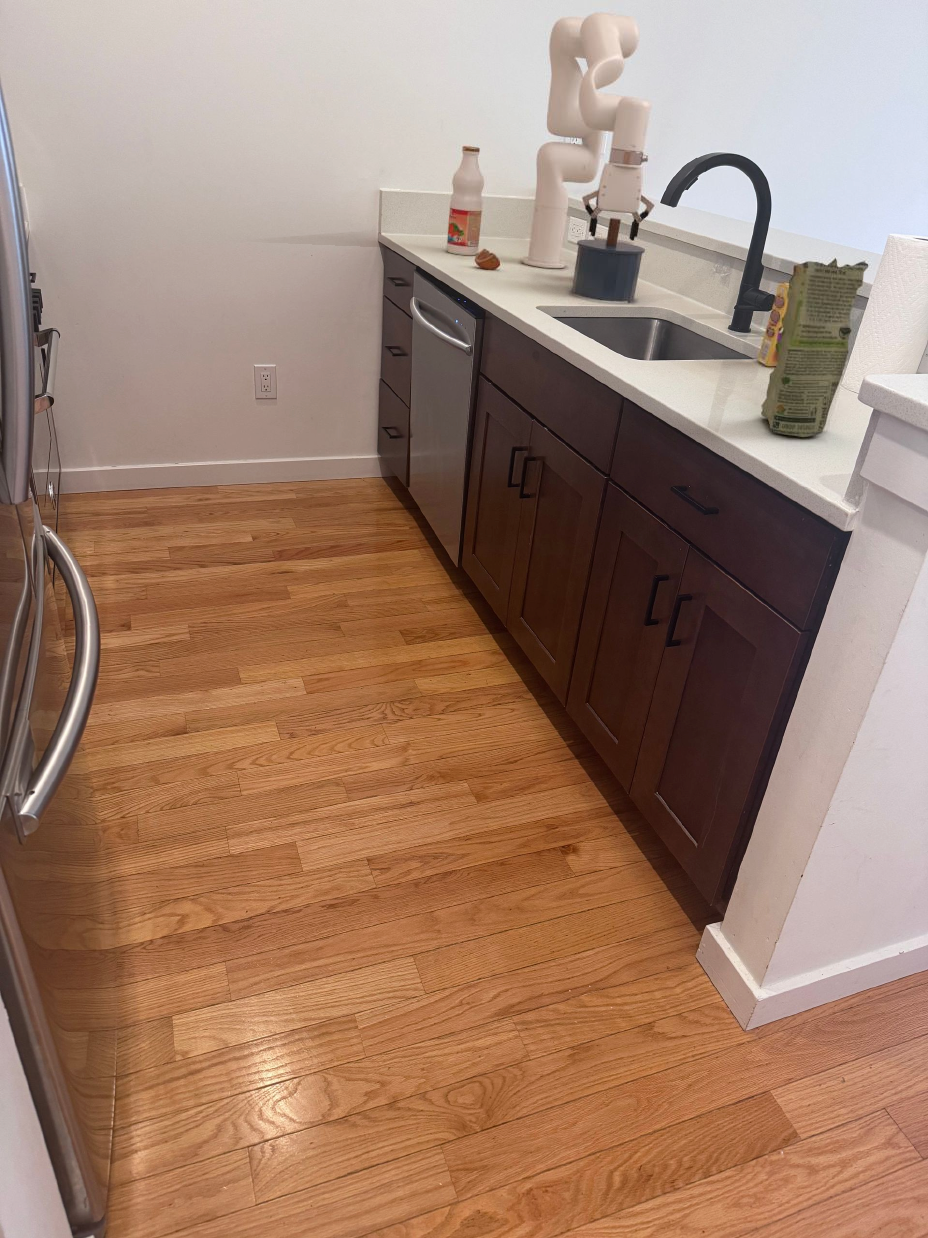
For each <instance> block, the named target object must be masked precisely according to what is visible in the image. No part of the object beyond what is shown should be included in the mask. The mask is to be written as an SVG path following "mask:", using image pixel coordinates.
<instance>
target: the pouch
mask: <svg viewBox="0 0 928 1238" xmlns="http://www.w3.org/2000/svg"><path fill="white" fill-rule="evenodd" d="M868 268H869V263H866V260H863V261H859V262H857V263H855V264H853V265H851V264H844V265H842V266H838V260H837V258H836V257H834V258H833V260H832V261H830V262H829V263H828V264H826V263H825V264H824V263H823V262H820V261H819V262H818V261H810V260H809V261H805V262H802V263H799V264H797V265H796V264H794V265H793V272H792V276H791V277H790V279H789V280H788V283H789V289H788V293H787V298H788V304H787V309H786V313H785V315H784V317H783V318H782V324H783V332H782V335H781V339H780V340H779V342H777V343H776V351H777V355H778V359H777V366H775V368H774V369H773V370H772V372H771V373H770V374H769V379H768V380H769V381H768V382H769V383H768V384H767V389H766V398H765V400H764V401H763V402H762V404H761V410H762V411H761V412H760V416H761V417H764V418H765V419H767V421H768V424H769V428H770V430H771V431H772V432H773V433H775V434H781V435H787V436H792V437H793V436H794V437H799V438H807V437H813V436H816V435H819V434H822V433H823V432H824V429H825V427H826V424H827V422H828V421H827V420H828V416H829V413H830V409H831V407H832V403H833V400H834V398H835V395H836V392H837V390H838V388H839V385H840V382H841V379H842V377H843V373H844V370H845V367H846V362H847V358H848V354H849V339H850V335H851V332H852V329H851V323H850V320H851V312H852V310H853V308H854V305H855V301H856V298H857V294H858V290H859V289H860V288H861V287H863V283H864V274H865V271H866V270H867V269H868Z"/></svg>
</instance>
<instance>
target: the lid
mask: <svg viewBox="0 0 928 1238" xmlns="http://www.w3.org/2000/svg"><path fill="white" fill-rule="evenodd" d="M621 220H622V219H621V218H617V217H610V218H609V223H608V229H607V235H606V238H607V240H606V241H604V240H594V239H580V240H579V239H578V240H577V241H576V244H577V246H581V247H583V248H587V249H591V250H596V251H602V252H610V253H619V254H642V255H643V254H644V253H645V252H646V249H645V248H644V247H641V246H639V245H635V244H633V245H631V244H626V243H620V242H617V240H619V239H618V238H619V233H620V228H621V227H620V226H621Z"/></svg>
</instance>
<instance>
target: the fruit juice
mask: <svg viewBox="0 0 928 1238" xmlns="http://www.w3.org/2000/svg"><path fill="white" fill-rule="evenodd" d="M480 149H481V148H480V147H477V146H470V145H463V146H462V149H461V153H462V159H461V162H460V165H459V167H458V169H457V170H456V171H455V172H454V174H453V175H452V181H451V182H452V183H451V185H452V194H451V197H450V201H449V213H448V214H449V215H448V216H449V217H448V224H447V226H448V227H447V240H446V252H448V253H450V254H453V255H460V256H461V255H462V256H477V255H478V254H479V247H480V246H479V245H480V236H481V235H480V234H481V226H482V225H481V223H482V215H483V197H482V192H483V190H484V186H485V179H484V176H483V174H482V172H481V170H480V166H479V155H480V151H481V150H480Z"/></svg>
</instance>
